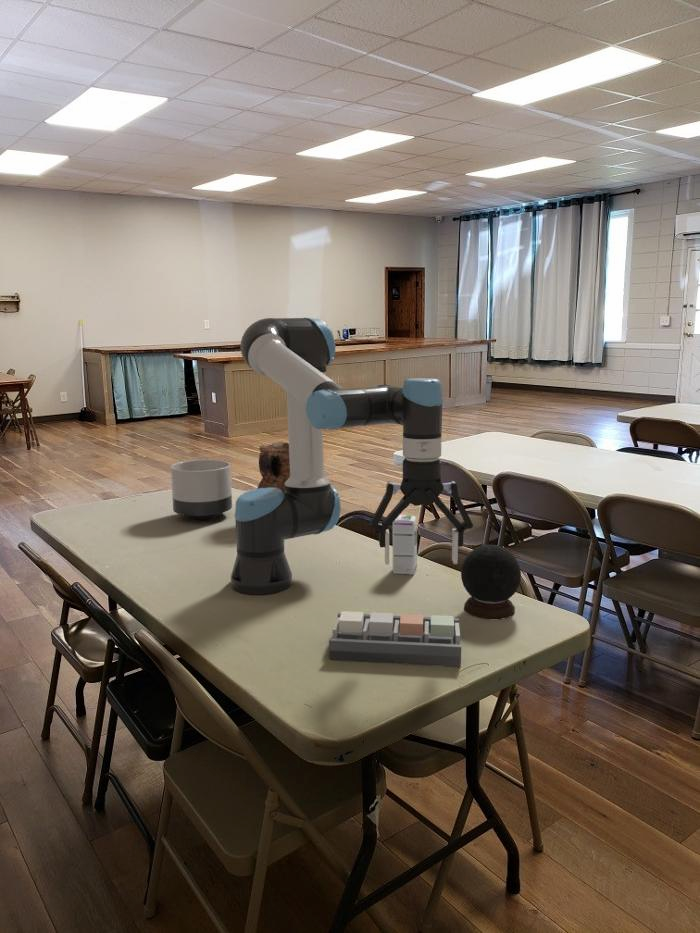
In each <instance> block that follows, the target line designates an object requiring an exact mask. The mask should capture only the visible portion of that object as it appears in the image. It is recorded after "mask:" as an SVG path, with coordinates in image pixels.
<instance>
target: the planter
mask: <svg viewBox="0 0 700 933" xmlns="http://www.w3.org/2000/svg"><path fill="white" fill-rule="evenodd" d="M170 475H171V476H170V477H171V478H170V479H171V496H172V511H173V512H174V513H175V514H178V515H182V516H184V517H185V518H188V519H191V520H194V521H206V520H208V521H209V520H213V519H215V518H217V517H219V516H221V515H222V514H224V513H226V512H228V511H230V510H231V509H232V508H233V498H232V497H233V495H232V494H233V492H232V490H233V489H232V467H231V463H230V462H228V461H225V460H220V459H193V460H185V461H179V462H176V463H174V464H172V465H171V466H170Z"/></svg>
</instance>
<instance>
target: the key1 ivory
mask: <svg viewBox="0 0 700 933" xmlns="http://www.w3.org/2000/svg"><path fill="white" fill-rule="evenodd" d="M340 613H341V615H340V618H339V632H355V633H362V629H363V625H364V614H365V612H364V611H349V610H347V611H345V610H342V611H341V612H340Z"/></svg>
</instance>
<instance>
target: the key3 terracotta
mask: <svg viewBox="0 0 700 933" xmlns="http://www.w3.org/2000/svg"><path fill="white" fill-rule="evenodd" d="M400 616H401V617H400V635H419V636H423V617H424V614H409V613H400Z"/></svg>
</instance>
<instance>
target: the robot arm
mask: <svg viewBox="0 0 700 933" xmlns="http://www.w3.org/2000/svg"><path fill="white" fill-rule="evenodd" d="M240 354H241V357H242V359H243V360H244V362H245V363H246V364H247V366H248V367H249V368H250V369H252V370H253V371H254V372H256V373H257V374H259V375H266V376H268V377H269V378H270V379H271V380H272V381H273V382H275V383H277V385H279V386H280V387H281V388H283V389H284V390H285V391H286V392H285V393H286V412H287V414H286V415H287V433H288V434H287V435H288V444H289V460H290V477H289V479H288V480H287V481H286V482H285V492H284V493H283V492H282V490H281V489H278V488H272V487H268V488H259V489H258V488H255V489H251V490H248V491H246V492H243V493H242V494H241V495H239V496H238V497H237V499H236V500H235V510H234V519H235V533H236V534H235V535H236V536H235V539H236V557H235V560H234V564H233V567H232V570H231V574H230V587H231V589H233V590H234V591H235V592H236V591H237V592H239V593H241V594H246V595H268V594H269V595H270V594H275V593H279V592H282V591H284V590H286V589H288V588H289V587H291V586H292V584H293V573H292V570H291V568H290V565H289V561H288V559H287V556H286V553H285V540H290V539H296V538H300V537H305V536H310V535H320V534H321V533H324V532H329V531H330V530H332V529H333V528H334V527H335V525H337V523H338V521H339V520H340V516H341V509H342V507H341V499H340V496H339V492H338V491H337V489H336V488H335V487H333V486H331V480H330V479H329V478H327V476H326V475H325V464H324V463H325V462H324V461H325V460H324V435H323V433H324V432H323V430H330V431H331V430H333V431H334V430H338V429H344V428H345V429H346V428H352V427H353V428H355V427H365V426H366V427H367V426H374V425H375V426H376V425H384V424H385V425H387V424H395V425H401V426H402V457H403V458H404V459H403V460H402V479H401V480H402V481H401V483H394V482H392V481H387V482H386V485H385V486H386V488H385V493H384V495H383V496H382V499H381V500H380V502H379V505H378V506H377V508H376V510H375V512H374V515H373V516H372V518H371V520H370V522H369V524H370V529H372V530H375V531H378V535H379V536H378V537H379V538H378V541H379V542H378V543H379V547H380V548H384V564H385V565H388V566H389V565H390V529H389V527H390V526H392V525H393V522H394V521H395V519H396V518H397V517H398V516H399V515H402V513H403V511H405V509H407V508H408V507H409V505H410V504H411V505H413V506H414V507H416V506H421V505H422V506H428V507H429V506H431V505H433V504H434V505H435V506H436V507H437V508H438V509H439V510H440V511H441V512H442V514H444V516H445V517H446V518H447V519H448V520H449V522H450V523H451V524H452V526H454V528H452V530H451V531H452V533H451V534H452V535H451V536H452V538H451V540H452V541H451V542H452V543H451V561H452V563H453V565H457V564H458V561H459V560H458V557H459V556H458V553H459V550H458V549H459V547H460V548H461V547H463V545H464V534H465V531H466V530H469V529H470V530H471V529H473V527H474V524H473V522H472V520H471V518H470V516H469V513H468V512H467V510H466V507H465V506H464V503H463V502H462V500H461V498H460V496H459V490H458V489H459V488H458V485H457V483H456V481H454V480H451V481H449V482H444V483H443V482H442V460H441V459H440V457H442V432H443V431H442V430H443V427H442V426H443V403H444V399H443V387H442V386H443V385H442V382H441V381H440V379H438V378H431V377H430V378H428V377H427V378H425V377H419V378H418V377H417V378H406V379H405V380H404V381H403V385H402V386H401V387H400V386H394V385H390V384H378V385H377V384H376V385H372V386H371V387H357V388H356V387H355V388H344V387H343V386H341V385H340V384H339V383H336V382H335V381H334V380H333V379H331V378H330V377H328V376H327V367H328V366H329V365H331V364H332V363H333V361H334V358H335V355H336V342H335V337H334V334H333V332H332V330H331V328H330V327H329V325H328V324H327V323H326V322H325V321H324V320H321V319H320V318H311V317H292V318H290V317H286V318H284V317H282V318H281V317H279V318H276V317H266V318H262V319H259V320H257V321H255V322H253V323H252V324H251V325H249V326H248V327H247V328H246V330H245V331H244V333H243V335H242V337H241V340H240ZM444 490H445V491H446V492H447V494H449V495H451V498H452V500H453V501H454V504H455V506H456V509H458V511H459V514H460V516H461V518H462V520H463V521H462V522H460V520H459V519H458V517H456V516H455V514H453V513H452V510H450V509H449V508H448V507H447V505H446V504H445V502H444V501H442V499H441V498H440V497H439V496H440V495H441V494H442V492H443V491H444ZM398 491H400V492H401V493H402V494H403V496H402V497H401V499H400V500H399V501H398V503H397V504H396V505H395V507H394V508H392V510H391V511H390V512H389V513H388V514H387V516H386V517H385V518H384V519H383V520H382V517H383V516H384V514H385V511H386V510H387V508H388V506H389V504H390V502H391V500H392V498H393V495H396V494H397V492H398ZM381 520H382V522H380V521H381Z"/></svg>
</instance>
